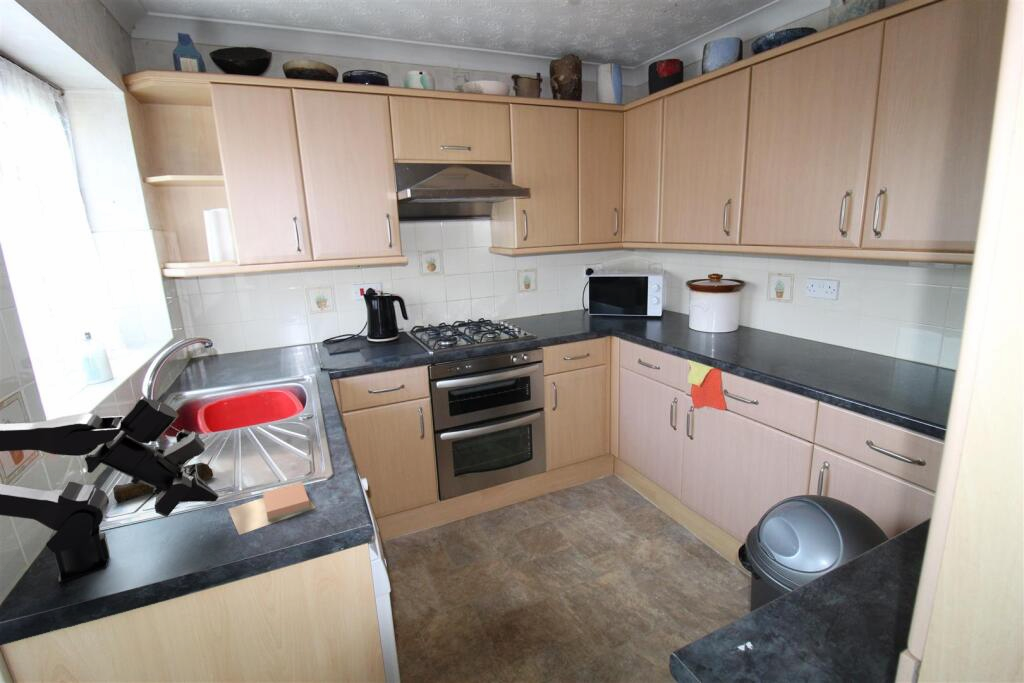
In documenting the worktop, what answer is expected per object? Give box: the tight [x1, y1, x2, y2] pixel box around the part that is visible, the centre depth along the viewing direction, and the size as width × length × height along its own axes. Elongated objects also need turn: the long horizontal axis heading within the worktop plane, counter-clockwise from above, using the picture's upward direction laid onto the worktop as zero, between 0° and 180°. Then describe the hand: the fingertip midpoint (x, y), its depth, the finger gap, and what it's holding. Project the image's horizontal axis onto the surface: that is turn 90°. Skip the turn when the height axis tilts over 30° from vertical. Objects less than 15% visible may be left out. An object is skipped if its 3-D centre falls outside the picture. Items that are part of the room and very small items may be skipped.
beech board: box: [227, 497, 317, 536], centre depth 105 cm, size 14×12×1 cm
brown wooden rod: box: [112, 462, 214, 504], centre depth 116 cm, size 19×4×5 cm, turn 120°
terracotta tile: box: [262, 482, 310, 521], centre depth 106 cm, size 2×9×8 cm
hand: (217, 498), depth 99 cm, fingers closed
